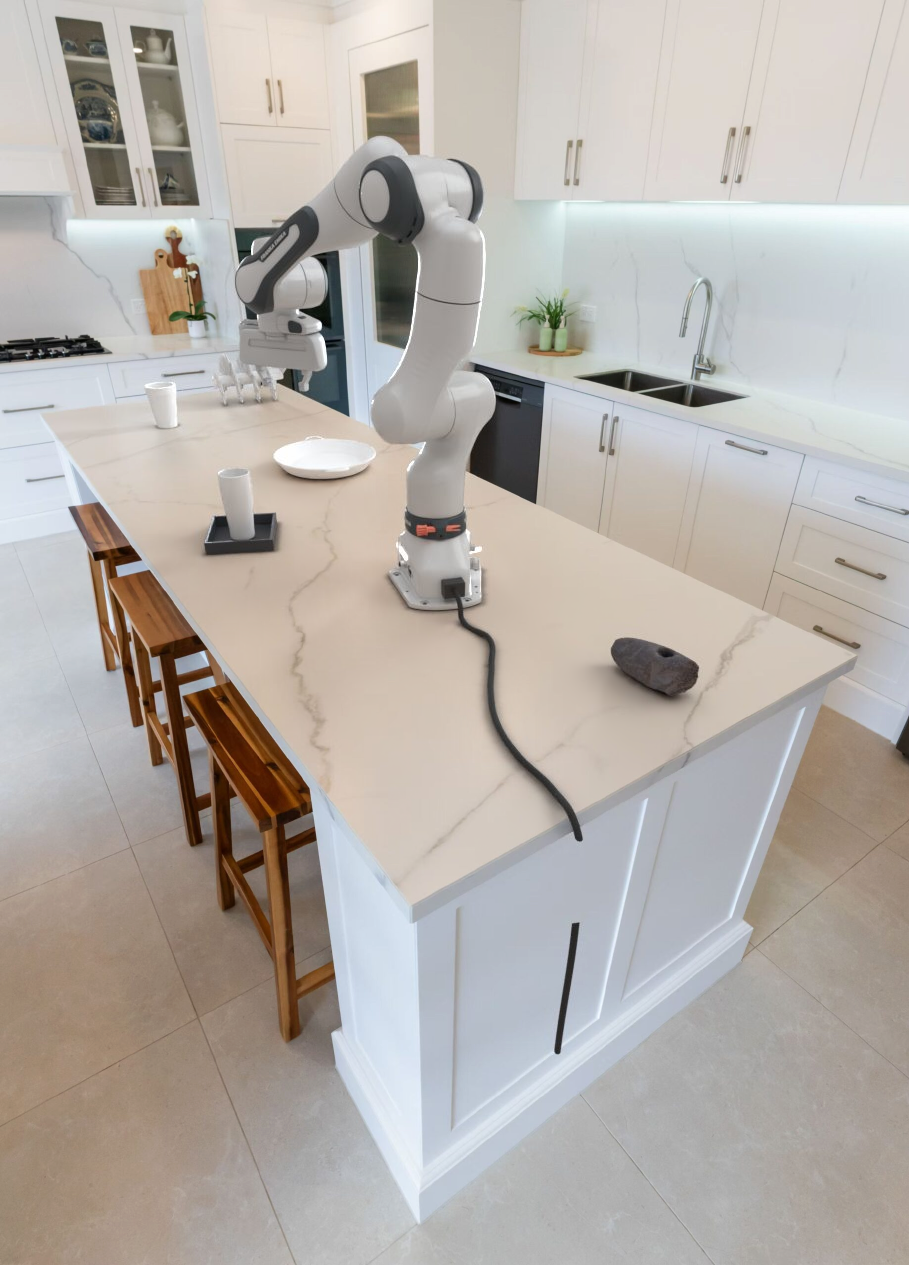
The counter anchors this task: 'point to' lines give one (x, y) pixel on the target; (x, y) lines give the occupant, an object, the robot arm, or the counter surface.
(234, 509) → the white tall cup
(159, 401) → the foam cup
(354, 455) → the pan
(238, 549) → the baking tray
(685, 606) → the counter surface
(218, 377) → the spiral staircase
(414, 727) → the counter surface
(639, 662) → the perforated stone tool
